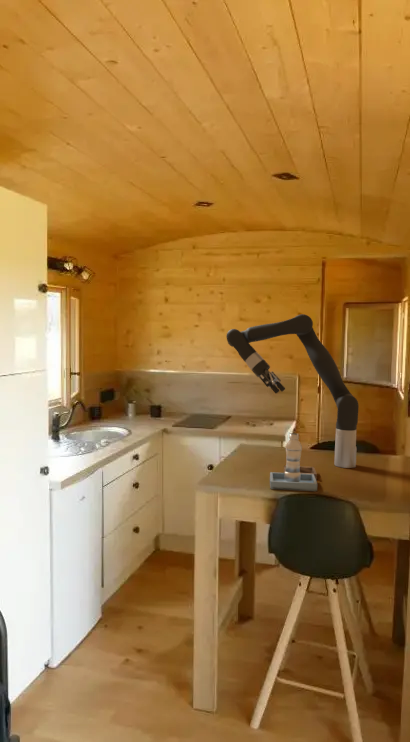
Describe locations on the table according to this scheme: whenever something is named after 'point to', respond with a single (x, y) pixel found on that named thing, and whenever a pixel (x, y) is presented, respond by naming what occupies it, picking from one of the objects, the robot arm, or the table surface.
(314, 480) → the slate tray
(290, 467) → the plastic bottle
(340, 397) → the robot arm
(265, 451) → the table surface
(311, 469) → the walnut holder
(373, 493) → the table surface
